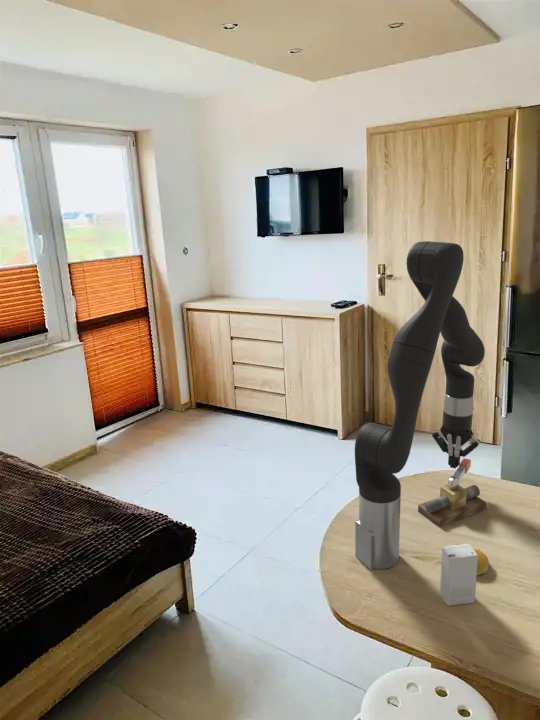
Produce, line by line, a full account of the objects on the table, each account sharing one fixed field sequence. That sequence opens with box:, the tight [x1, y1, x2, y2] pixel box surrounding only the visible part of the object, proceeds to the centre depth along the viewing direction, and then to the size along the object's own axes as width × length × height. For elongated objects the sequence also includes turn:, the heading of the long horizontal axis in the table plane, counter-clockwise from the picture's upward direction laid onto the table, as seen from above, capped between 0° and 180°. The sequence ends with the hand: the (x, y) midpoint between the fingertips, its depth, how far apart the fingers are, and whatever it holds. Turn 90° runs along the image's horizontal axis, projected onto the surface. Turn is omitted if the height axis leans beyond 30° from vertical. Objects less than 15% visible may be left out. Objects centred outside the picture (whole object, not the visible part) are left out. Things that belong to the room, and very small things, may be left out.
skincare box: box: [439, 543, 478, 607], centre depth 116 cm, size 6×4×12 cm
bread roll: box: [456, 543, 490, 576], centre depth 128 cm, size 8×9×4 cm
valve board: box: [417, 483, 488, 528], centre depth 147 cm, size 16×8×7 cm, turn 116°
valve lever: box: [447, 457, 472, 489], centre depth 150 cm, size 13×3×2 cm, turn 146°
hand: (453, 466), depth 156 cm, fingers closed
